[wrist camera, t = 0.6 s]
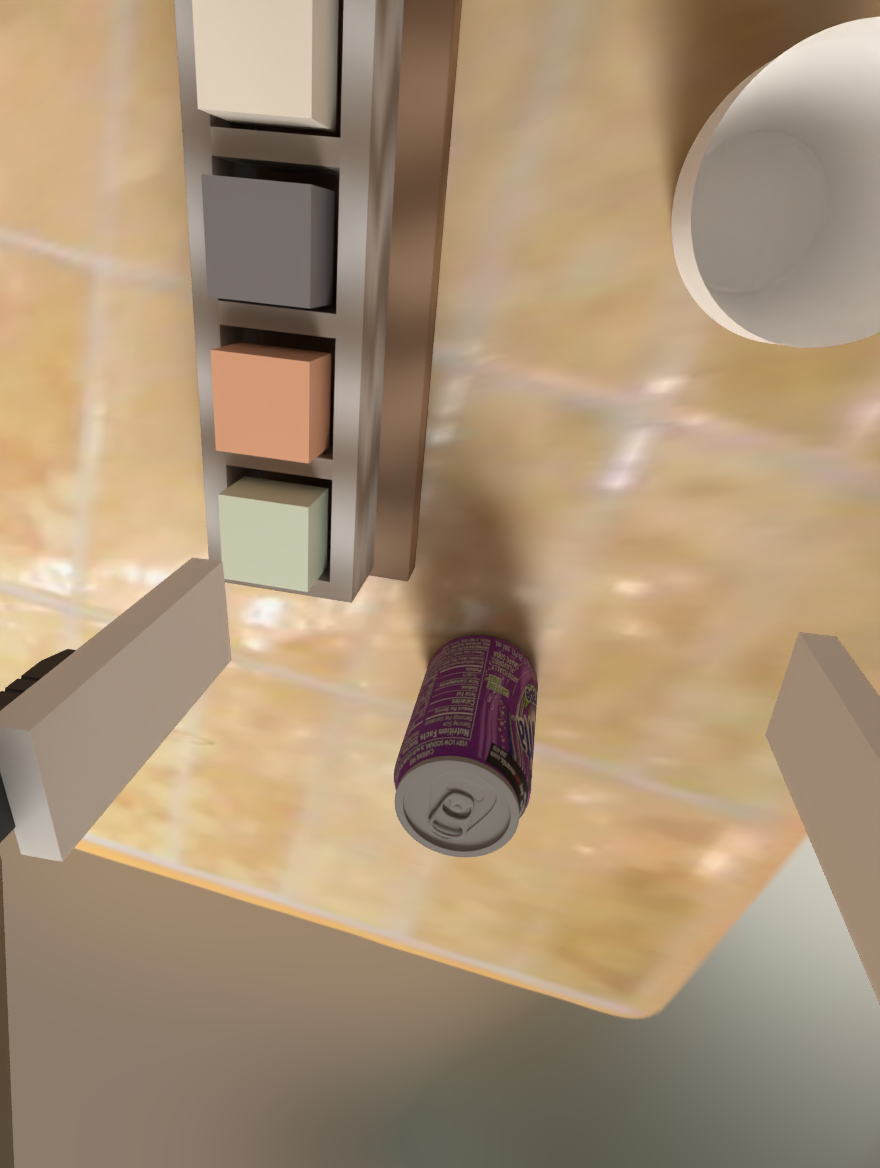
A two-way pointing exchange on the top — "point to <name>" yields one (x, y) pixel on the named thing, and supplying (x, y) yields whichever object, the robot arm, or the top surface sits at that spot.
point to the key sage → (273, 533)
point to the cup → (790, 196)
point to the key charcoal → (268, 241)
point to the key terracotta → (271, 401)
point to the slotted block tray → (345, 276)
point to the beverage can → (469, 748)
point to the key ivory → (268, 61)
